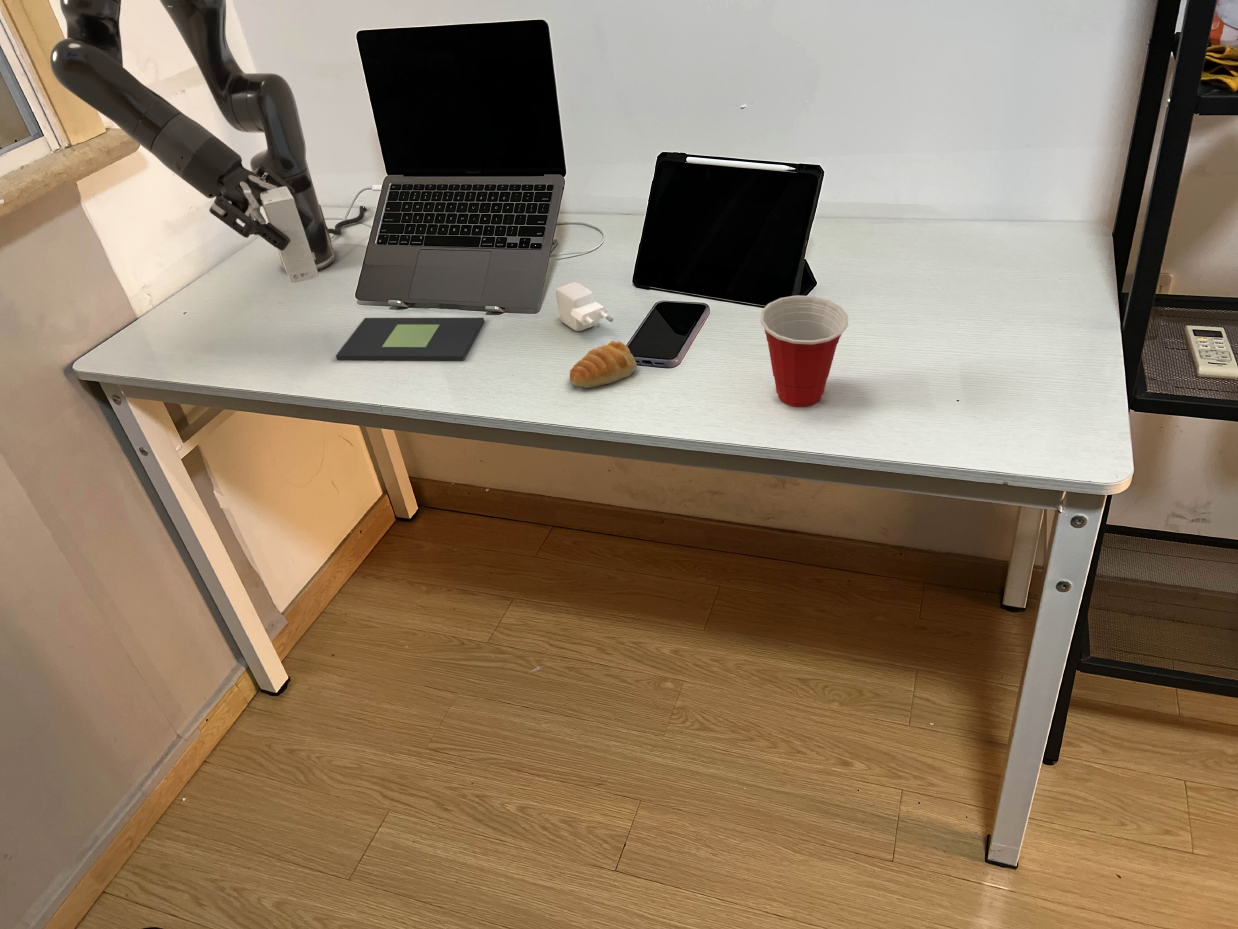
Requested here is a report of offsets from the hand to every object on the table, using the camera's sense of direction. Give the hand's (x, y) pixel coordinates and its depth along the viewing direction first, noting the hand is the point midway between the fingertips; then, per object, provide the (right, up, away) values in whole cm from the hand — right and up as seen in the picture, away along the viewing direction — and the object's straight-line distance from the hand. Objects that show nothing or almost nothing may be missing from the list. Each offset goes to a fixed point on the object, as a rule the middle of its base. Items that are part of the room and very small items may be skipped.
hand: (298, 234), depth 133 cm
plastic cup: (+70, -24, -12) cm, 75 cm away
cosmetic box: (-1, -5, +4) cm, 6 cm away
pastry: (+44, -21, -3) cm, 49 cm away
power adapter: (+41, -13, +8) cm, 44 cm away
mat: (+14, -14, +10) cm, 22 cm away
